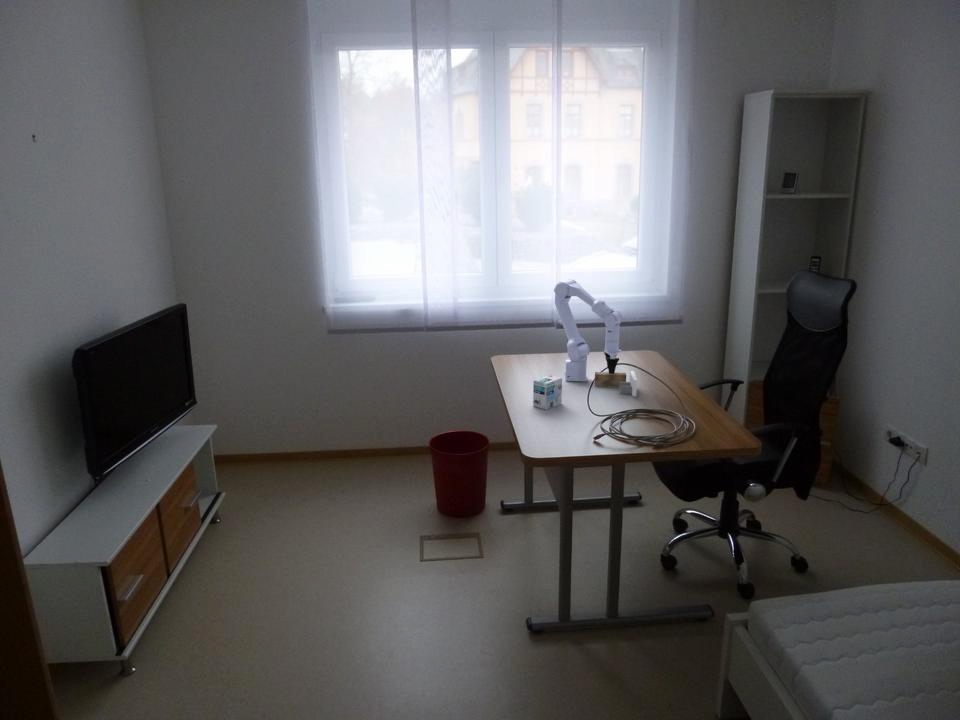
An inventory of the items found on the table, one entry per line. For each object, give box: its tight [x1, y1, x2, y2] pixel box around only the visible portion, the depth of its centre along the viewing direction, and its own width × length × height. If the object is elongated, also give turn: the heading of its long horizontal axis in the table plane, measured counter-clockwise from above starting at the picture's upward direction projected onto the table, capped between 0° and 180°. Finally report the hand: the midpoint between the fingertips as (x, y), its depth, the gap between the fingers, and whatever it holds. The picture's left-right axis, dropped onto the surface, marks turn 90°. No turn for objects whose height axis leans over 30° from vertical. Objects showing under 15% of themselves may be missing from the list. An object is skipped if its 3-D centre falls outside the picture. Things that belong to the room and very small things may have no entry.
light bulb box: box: [532, 374, 563, 411], centre depth 272 cm, size 11×7×11 cm, turn 137°
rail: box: [594, 371, 627, 388], centre depth 297 cm, size 13×3×6 cm, turn 84°
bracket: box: [618, 370, 638, 397], centre depth 288 cm, size 6×13×7 cm, turn 174°
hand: (610, 370), depth 296 cm, fingers open, 7 cm apart
